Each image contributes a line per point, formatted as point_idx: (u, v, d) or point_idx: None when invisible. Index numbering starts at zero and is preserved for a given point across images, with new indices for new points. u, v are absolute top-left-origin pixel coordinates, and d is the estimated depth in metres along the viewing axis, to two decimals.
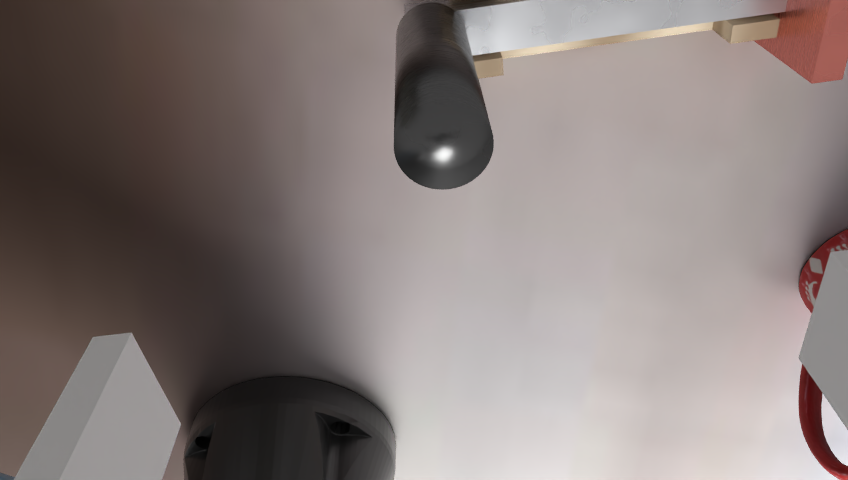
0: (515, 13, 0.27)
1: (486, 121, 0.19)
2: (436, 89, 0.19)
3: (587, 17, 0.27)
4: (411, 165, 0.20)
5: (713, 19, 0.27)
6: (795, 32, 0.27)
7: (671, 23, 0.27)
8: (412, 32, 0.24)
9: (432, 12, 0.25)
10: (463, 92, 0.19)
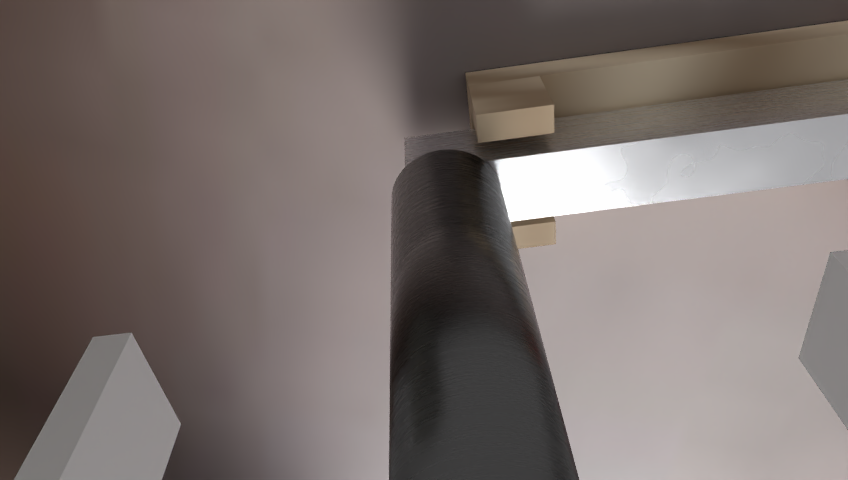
0: (580, 164, 0.17)
1: None
2: (478, 447, 0.09)
3: (693, 168, 0.17)
4: None
5: None
6: None
7: (822, 176, 0.18)
8: (419, 224, 0.14)
9: (451, 176, 0.15)
10: (534, 450, 0.09)
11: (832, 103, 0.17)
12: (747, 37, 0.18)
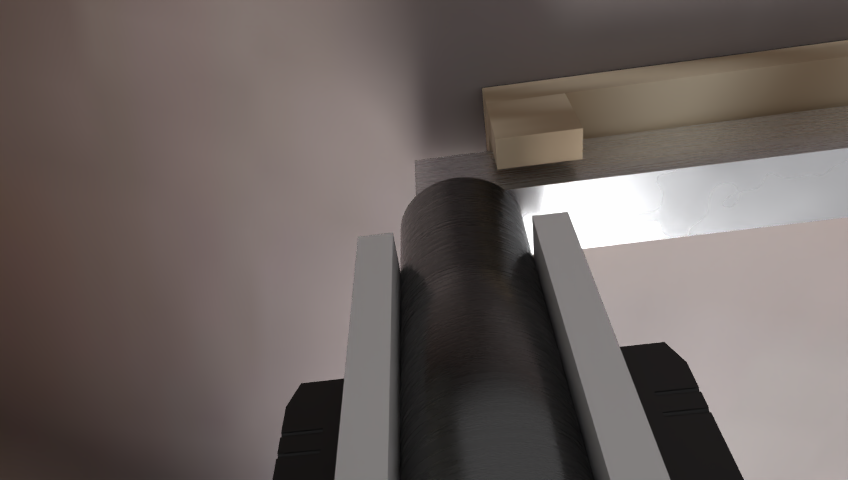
0: (611, 193, 0.15)
1: None
2: None
3: (736, 198, 0.16)
4: None
5: None
6: None
7: None
8: (433, 269, 0.12)
9: (468, 211, 0.14)
10: None
11: None
12: (796, 51, 0.16)
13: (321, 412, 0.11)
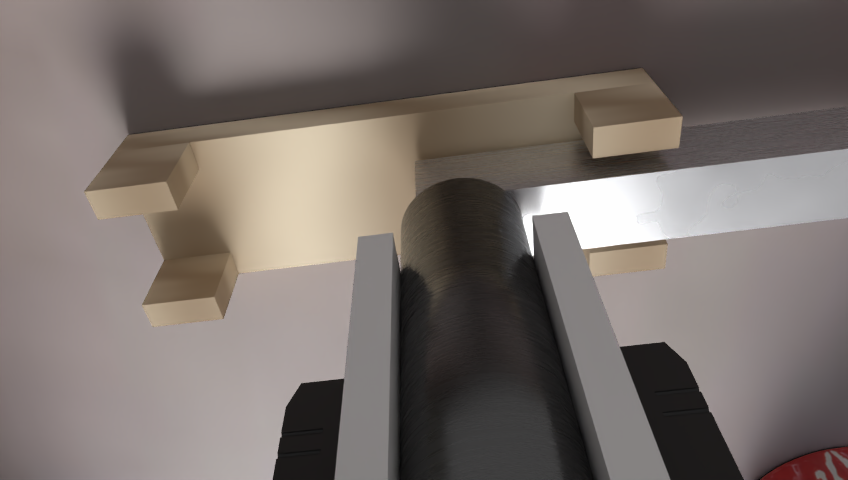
0: (611, 194, 0.15)
1: None
2: None
3: (735, 199, 0.16)
4: None
5: None
6: None
7: None
8: (433, 269, 0.13)
9: (468, 211, 0.14)
10: None
11: None
12: (419, 101, 0.17)
13: (321, 412, 0.11)
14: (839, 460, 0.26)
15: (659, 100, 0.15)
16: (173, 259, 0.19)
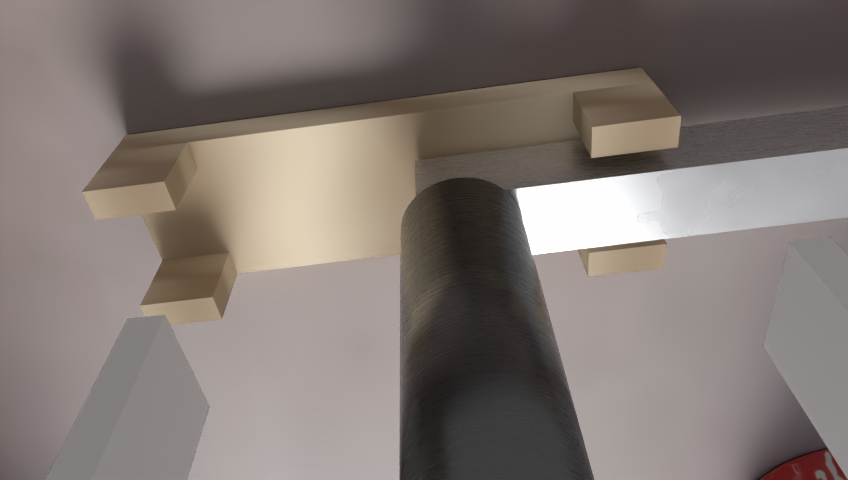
0: (611, 193, 0.15)
1: None
2: None
3: (736, 198, 0.15)
4: None
5: None
6: None
7: None
8: (433, 269, 0.12)
9: (468, 211, 0.14)
10: None
11: None
12: (417, 101, 0.17)
13: None
14: None
15: (658, 100, 0.15)
16: (171, 259, 0.19)
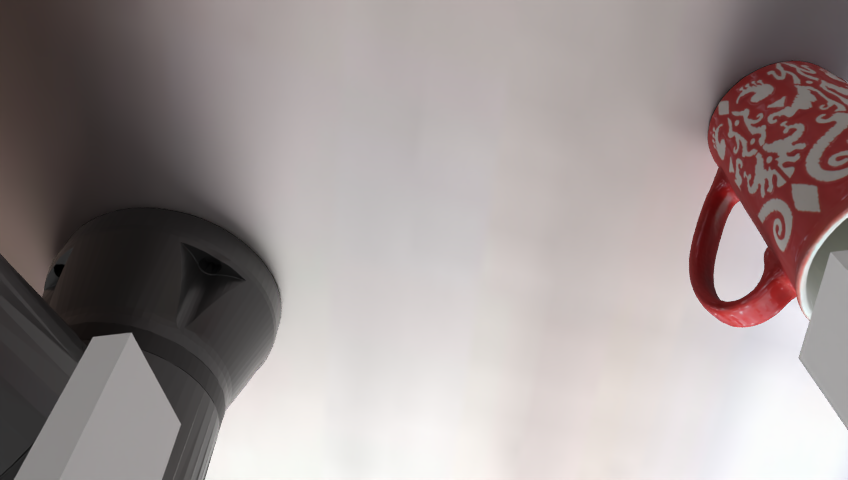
0: None
1: None
2: None
3: None
4: None
5: None
6: None
7: None
8: None
9: None
10: None
11: None
12: None
13: None
14: (786, 64, 0.34)
15: None
16: None
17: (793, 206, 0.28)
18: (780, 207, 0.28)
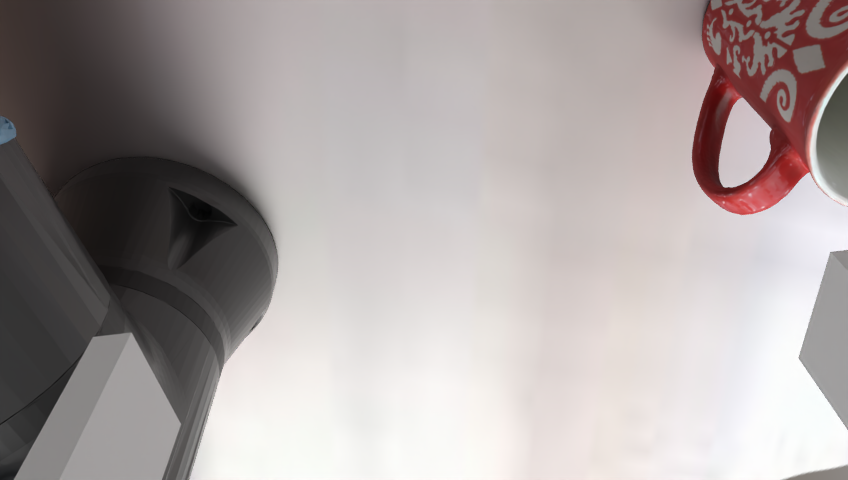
0: None
1: None
2: None
3: None
4: None
5: None
6: None
7: None
8: None
9: None
10: None
11: None
12: None
13: None
14: None
15: None
16: None
17: (796, 71, 0.26)
18: (783, 77, 0.27)
